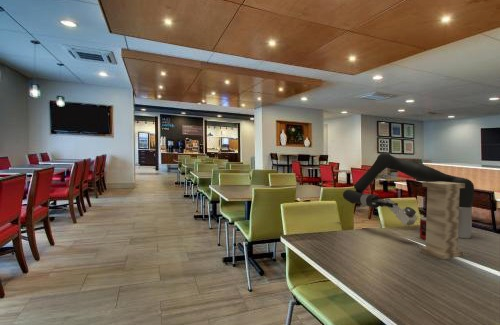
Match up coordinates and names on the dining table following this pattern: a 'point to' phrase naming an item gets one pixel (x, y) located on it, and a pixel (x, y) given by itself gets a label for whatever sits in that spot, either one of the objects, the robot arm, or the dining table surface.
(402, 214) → the grey elongated piece
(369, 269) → the dining table surface
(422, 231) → the canned food
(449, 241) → the stand
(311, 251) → the dining table surface
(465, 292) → the dining table surface
